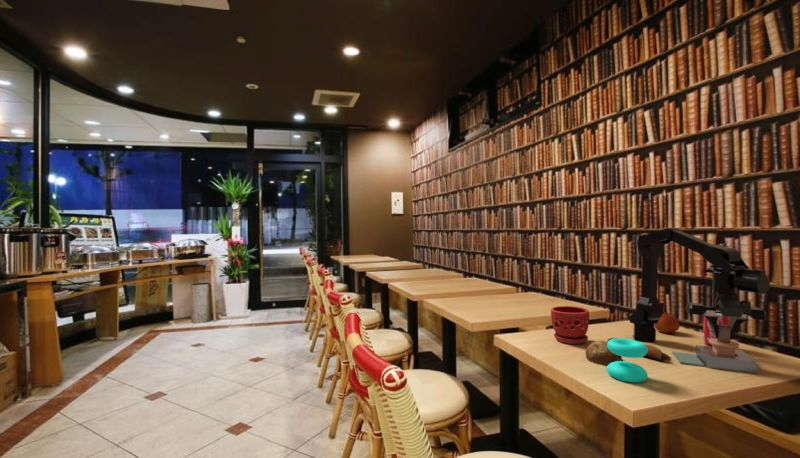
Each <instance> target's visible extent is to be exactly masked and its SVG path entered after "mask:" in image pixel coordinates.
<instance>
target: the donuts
mask: <svg viewBox="0 0 800 458" xmlns="http://www.w3.org/2000/svg"><path fill="white" fill-rule="evenodd" d="M614 338H615V339H611V340H609V341H608V340H607V341H608V343H607V347H608V349H609V350H610V351H611V352H612V353H614V354H616V355H619V356H622V358H627V359H628V358H629V359H638V358H639V359H640V358H643V357H646V356H645V355H646V354H647V352H648V348H647V346H646V345H647V344H646V345H645V343H643V342H642V341H636V340H634V339H630V338H623V337H622V338H621V337H614ZM606 366H607V367H606V372H607V374H608V375H609V376H610V377H612V378H613V379H616V380H619V381H622V382H627V383H637V384H638V383H642V382H645V381H646V380H647V378H648V372H647V371H646V369H645V368H644V367H642V366H641V365H639V364H636V363H634V362H629V361H626V360H625V361H624V360H623V361H616V362H612V363H610V364H609V365H606Z"/></svg>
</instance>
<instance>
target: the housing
mask: <svg viewBox="0 0 800 458" xmlns="http://www.w3.org/2000/svg"><path fill="white" fill-rule="evenodd" d="M695 355H696V356H697V358H698V359H699V360H700V361H701V362H702V363H703V364H704V367H705V368H706V369H707V368H708V369H717V370H723V371H724V370H725V371H733V372H738V373H739V372H741V373H749V374H758V361H757V360H755V358H753V357H751V356H750V355H749V354H748V353H746V352H745V350H742V349H738V348H736V349H735V356H728V355H719V354H716V353H715V352H714V351H713V347H709V346H706V345H700V344H695Z"/></svg>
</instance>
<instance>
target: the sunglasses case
mask: <svg viewBox="0 0 800 458" xmlns="http://www.w3.org/2000/svg"><path fill="white" fill-rule="evenodd" d="M615 338H616V337H610V338H608V339H607V341H606V342H608V341H609V340H611V339H615ZM644 344H645V343H644ZM645 345H646V346H647V348H648V352H647V354H646V355H645V356H644V357H649V358H651V359H655V360H658V361H661V362H662V363H663V362H666V361H668V360H670V359H672V358H673V357H672V356H669V354H667V353H665V352H663V351H662V350H661V348H659V347H656V346H654V345H651V344H645Z"/></svg>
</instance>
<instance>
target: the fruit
mask: <svg viewBox="0 0 800 458" xmlns="http://www.w3.org/2000/svg"><path fill="white" fill-rule="evenodd" d="M663 312H664V314H662V317H661V318H660V319H659V321H658V323H657V324H654V328H655V329H656V331H658V332H660V333H663V334H672V333H675V332H678V330H680V327H681V326H680V322H679V320H678V318H677V317H676V316H674V315H672V314H670V313H669V312H665V311H663Z"/></svg>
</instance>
